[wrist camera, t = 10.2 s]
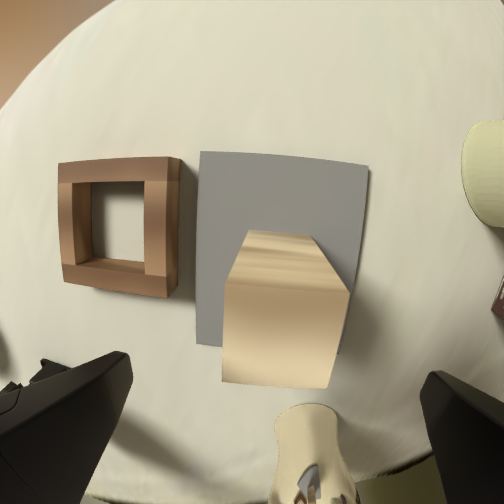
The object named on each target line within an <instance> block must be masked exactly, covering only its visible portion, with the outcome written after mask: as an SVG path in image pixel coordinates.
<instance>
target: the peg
mask: <svg viewBox="0 0 504 504" xmlns="http://www.w3.org/2000/svg"><path fill="white" fill-rule="evenodd" d="M349 296H350V293H349V291H348V290H347V288H346V287H345V285H344V284H343V282H342V281H341V279H340V278H339V276H338V275H337V273H336V272H335V270H334V269H333V267H332V266H331V264H330V263H329V261H328V260H327V259H326V257H325V256H324V254H323V253H322V251H321V250H320V248H319V247H318V246H317V244H316V243H315V241H314V240H313V239H312V237H311V236H310V235H302V234H291V233H280V232H269V231H257V230H249V231H248V233H247V235H246V237H245V239H244V242H243V244H242V246H241V248H240V251H239V253H238V255H237V257H236V260H235V262H234V264H233V266H232V269H231V271H230V273H229V275H228V278H227V280H226V282H225V294H224V319H223V350H222V382H229V383H238V384H247V385H258V386H271V387H288V388H321V389H327V386H328V383H329V379H330V376H331V372H332V369H333V365H334V361H335V357H336V353H337V349H338V345H339V341H340V337H341V333H342V329H343V324H344V320H345V315H346V310H347V306H348V301H349Z"/></svg>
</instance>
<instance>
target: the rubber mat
mask: <svg viewBox="0 0 504 504" xmlns="http://www.w3.org/2000/svg"><path fill="white" fill-rule="evenodd" d="M368 167H369V166H366V165H359V164H353V163H346V162H338V161H331V160H323V159H314V158H305V157H295V156H284V155H272V154H257V153H239V152H210V151H200V164H199V181H198V202H197V229H196V344H202V345H210V346H218V347H223V319H224V294H225V282H226V280H227V278H228V275H229V273H230V271H231V269H232V266H233V264H234V262H235V260H236V257H237V255H238V253H239V251H240V248H241V246H242V244H243V242H244V239H245V237H246V235H247V233H248V231H249V230H257V231H269V232H280V233H291V234H302V235H310V236H311V237H312V239H313V240H314V241H315V243H316V244H317V246H318V247H319V248H320V250H321V251H322V253H323V254H324V256H325V257H326V259H327V260H328V261H329V263H330V264H331V266H332V267H333V269H334V270H335V272H336V273H337V275H338V276H339V278H340V279H341V281H342V282H343V284H344V285H345V287H346V288H347V290H348V291H349V293H350V296H349V301H348V306H347V310H346V315H345V320H344V324H343V329H342V333H341V337H340V341H339V345H338V349H337V353H336V354H339V351H340V347H341V342H342V338H343V334H344V330H345V325H346V321H347V316H348V311H349V306H350V301H351V296H352V291H353V286H354V280H355V274H356V269H357V262H358V256H359V250H360V243H361V235H362V228H363V220H364V211H365V202H366V191H367V180H368Z"/></svg>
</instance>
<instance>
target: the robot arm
mask: <svg viewBox="0 0 504 504" xmlns="http://www.w3.org/2000/svg"><path fill="white" fill-rule="evenodd" d="M40 362H41V365H42V369H41V370H40V371H39V372H38V373H37V374H36V375H35V376H34V377H32V378H31V379H30V381H29V382H30V384H29V385H28V386H25V387H23V386H22V384H21V383H20V384H18V385H16V384H15V383H13V382H12V381H11V382H10V383H9V384H8V385H7V386H6V387H5V388H4V389H3V390H1V391H0V504H80V502H81V499H82V497H83V495H84V493H85V490H86V488H87V486H88V484H89V482H90V480H91V477H92V475H93V473H94V471H95V469H96V467H97V465H98V462H99V460H100V458H101V456H102V454H103V452H104V450H105V448H106V446H107V444H108V442H109V440H110V438H111V436H112V433H113V431H114V429H115V427H116V425H117V423H118V421H119V418H120V416H121V413H122V410H123V407H124V404H125V402H126V399H127V396H128V393H129V391H130V388H131V385H132V382H133V372H132V367H131V361H130V357H129V355H128V354H127V353H124V352H120V351H114V352H111V353H109V354H106V355H104V356H102V357H99V358H97V359H94V360H92V361H89V362H87V363H85V364H82V365H80V366H77V367H75V368H72V369H70V368H67V367H64V366H62V365H59V364H56V363H54V362H51V361H49V360H46V359H42V360H41V361H40ZM420 401H421V405H422V410H423V414H424V419H425V423H426V428H427V432H428V437H429V440H430V444H431V447H432V450H433V453H434V456H435V460H436V464H437V467H438V470H439V474H440V478H441V482H442V486H443V490H444V494H445V498H446V503H447V504H504V403H503V402H501V401H499V400H497V399H495V398H494V397H492V396H490V395H488V394H486V393H484V392H482V391H480V390H478V389H476V388H474V387H472V386H471V385H469V384H467V383H465V382H463V381H461V380H459V379H457V378H455V377H453V376H452V375H450V374H448V373H446V372H444V371H442V370H438V371H432V372H430V373H429V374H428V376H427V378H426V380H425V383H424V385H423V387H422V389H421V391H420Z"/></svg>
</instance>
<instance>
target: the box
mask: <svg viewBox="0 0 504 504" xmlns="http://www.w3.org/2000/svg"><path fill="white" fill-rule="evenodd" d="M492 311H493V312H495V313H496V314H497V315H498V316H500V317H501V318H502V319H503V320H504V277H503V280H502V283H501V285H500V287H499V290H498V293H497V295H496V299H495V301H494V304H493V306H492Z"/></svg>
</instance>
